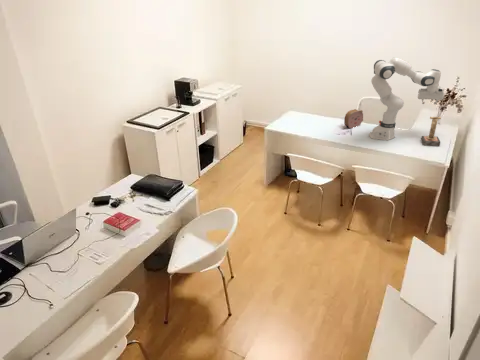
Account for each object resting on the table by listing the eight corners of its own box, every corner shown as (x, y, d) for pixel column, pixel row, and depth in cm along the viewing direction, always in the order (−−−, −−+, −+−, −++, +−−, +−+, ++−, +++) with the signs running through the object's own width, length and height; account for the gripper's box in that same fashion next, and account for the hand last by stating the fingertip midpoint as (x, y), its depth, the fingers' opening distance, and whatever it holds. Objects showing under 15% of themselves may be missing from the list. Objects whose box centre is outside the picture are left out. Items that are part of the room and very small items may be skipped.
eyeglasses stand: (426, 139, 308) (431, 118, 298) (425, 136, 314) (429, 115, 304) (436, 140, 306) (441, 118, 296) (435, 137, 312) (439, 115, 302)
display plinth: (422, 145, 309) (423, 141, 307) (420, 140, 319) (421, 135, 317) (439, 146, 305) (440, 141, 303) (436, 140, 315) (437, 136, 313)
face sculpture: (348, 129, 350) (349, 113, 342) (343, 127, 355) (344, 111, 347) (362, 125, 358) (364, 109, 350) (357, 123, 363) (359, 107, 355)
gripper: (419, 89, 307) (416, 104, 314) (445, 89, 302) (442, 105, 309) (418, 87, 313) (415, 102, 319) (444, 87, 307) (440, 103, 314)
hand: (429, 104), depth 314 cm, fingers open, 8 cm apart
